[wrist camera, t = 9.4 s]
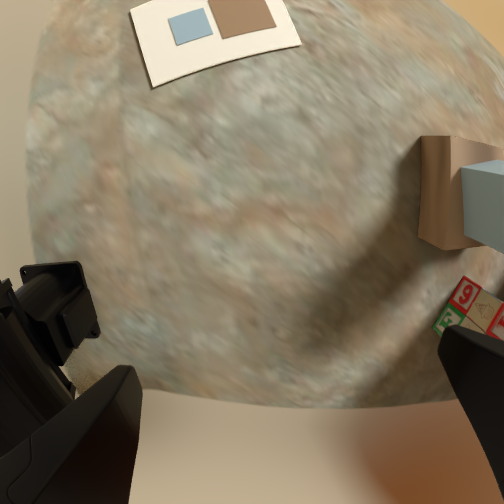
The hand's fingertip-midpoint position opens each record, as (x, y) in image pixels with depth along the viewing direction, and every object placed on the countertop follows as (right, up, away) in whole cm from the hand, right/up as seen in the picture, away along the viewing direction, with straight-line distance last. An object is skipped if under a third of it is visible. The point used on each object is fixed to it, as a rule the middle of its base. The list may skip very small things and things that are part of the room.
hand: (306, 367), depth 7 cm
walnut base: (+16, +8, +13) cm, 22 cm away
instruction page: (-4, +18, +7) cm, 20 cm away
